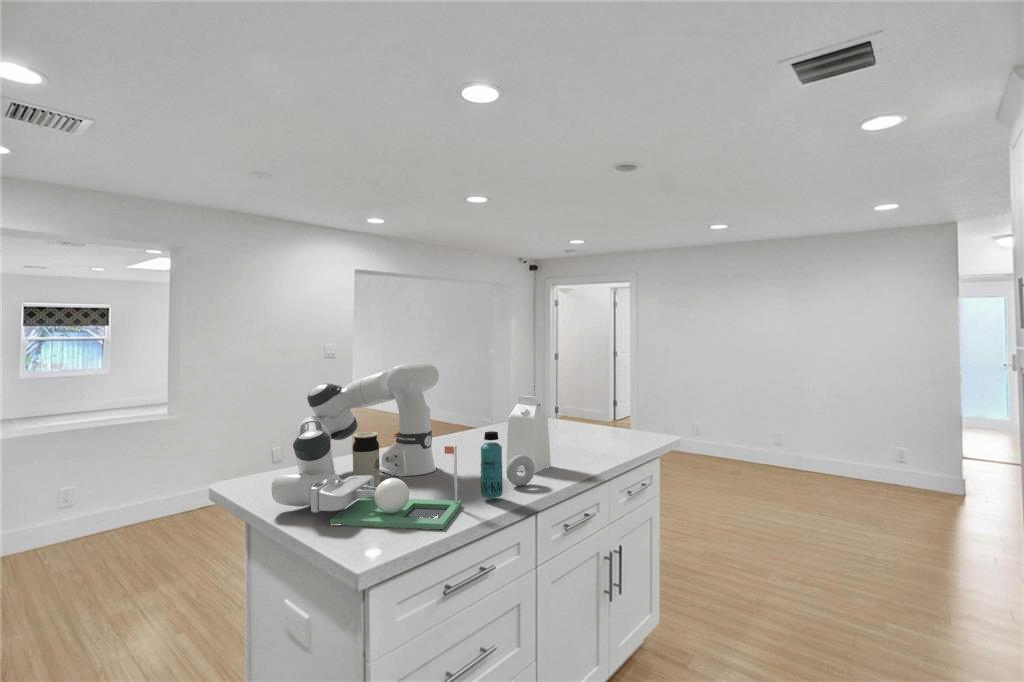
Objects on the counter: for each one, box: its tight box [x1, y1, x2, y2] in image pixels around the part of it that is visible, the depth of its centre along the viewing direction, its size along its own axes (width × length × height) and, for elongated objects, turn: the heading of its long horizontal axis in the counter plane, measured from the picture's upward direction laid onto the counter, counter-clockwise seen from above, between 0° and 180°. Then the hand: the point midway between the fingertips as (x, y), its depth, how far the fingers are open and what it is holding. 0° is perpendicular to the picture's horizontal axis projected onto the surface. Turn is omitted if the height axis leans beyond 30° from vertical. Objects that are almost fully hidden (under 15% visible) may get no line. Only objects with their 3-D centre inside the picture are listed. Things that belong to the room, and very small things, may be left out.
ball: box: [374, 477, 410, 513], centre depth 135 cm, size 9×9×9 cm
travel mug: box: [352, 431, 381, 487], centre depth 159 cm, size 8×8×18 cm
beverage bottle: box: [480, 430, 504, 499], centre depth 148 cm, size 6×7×20 cm
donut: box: [505, 455, 535, 487], centre depth 162 cm, size 10×4×10 cm, turn 119°
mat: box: [330, 445, 463, 531], centre depth 137 cm, size 30×18×18 cm, turn 81°
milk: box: [506, 395, 552, 474], centre depth 184 cm, size 12×12×26 cm
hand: (375, 492), depth 137 cm, fingers closed
